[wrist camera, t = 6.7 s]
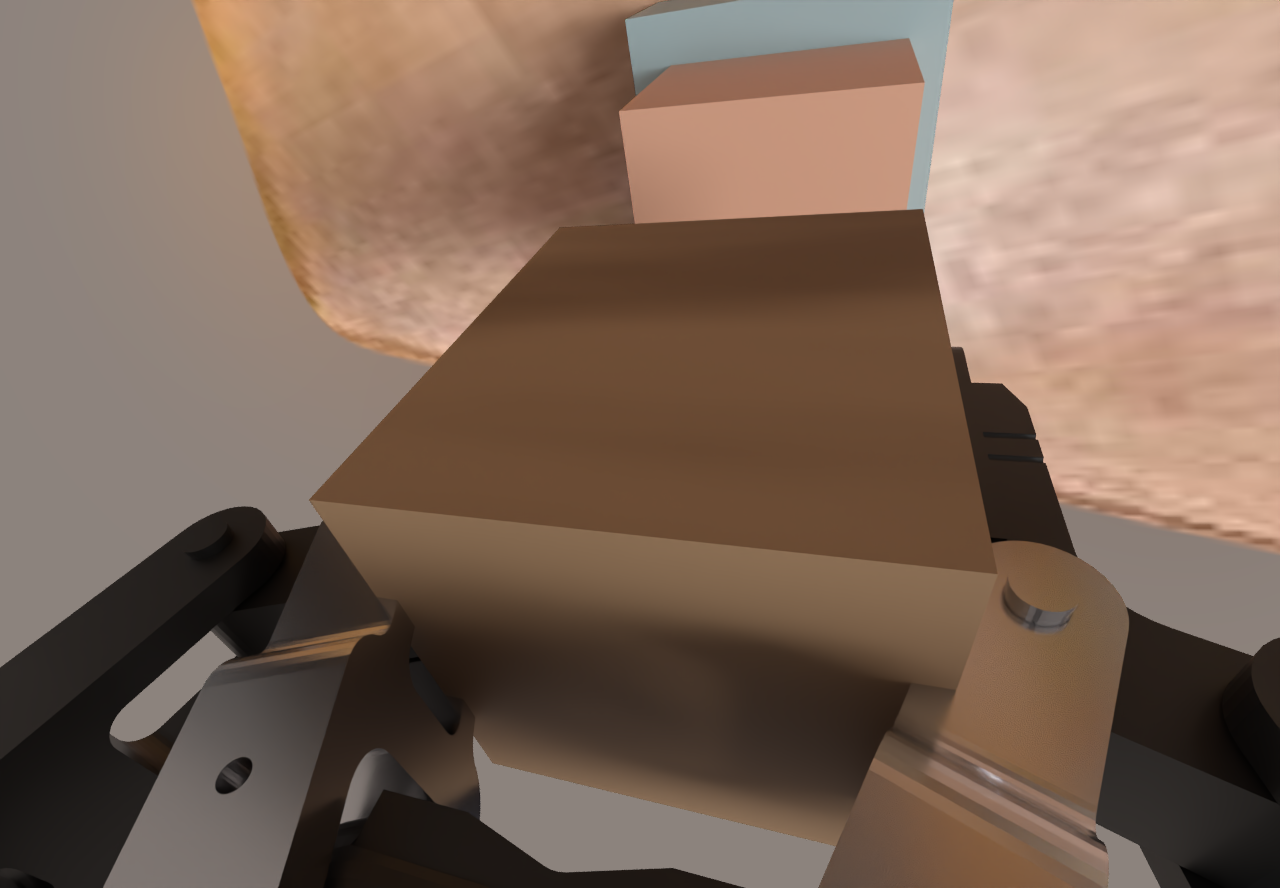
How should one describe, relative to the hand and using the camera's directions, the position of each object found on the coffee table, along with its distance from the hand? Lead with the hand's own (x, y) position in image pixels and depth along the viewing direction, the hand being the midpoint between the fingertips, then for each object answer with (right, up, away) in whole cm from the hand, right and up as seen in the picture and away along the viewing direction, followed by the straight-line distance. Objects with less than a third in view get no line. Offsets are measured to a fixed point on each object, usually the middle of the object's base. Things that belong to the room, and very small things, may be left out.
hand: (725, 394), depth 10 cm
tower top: (+3, +7, +8) cm, 11 cm away
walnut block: (0, 0, +1) cm, 1 cm away
